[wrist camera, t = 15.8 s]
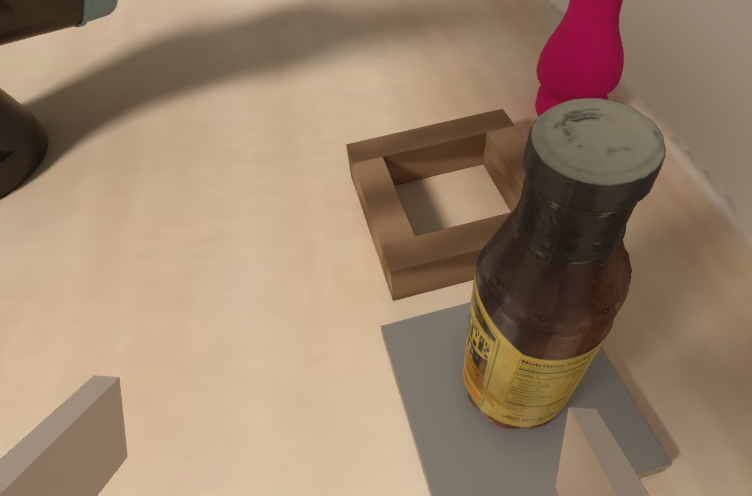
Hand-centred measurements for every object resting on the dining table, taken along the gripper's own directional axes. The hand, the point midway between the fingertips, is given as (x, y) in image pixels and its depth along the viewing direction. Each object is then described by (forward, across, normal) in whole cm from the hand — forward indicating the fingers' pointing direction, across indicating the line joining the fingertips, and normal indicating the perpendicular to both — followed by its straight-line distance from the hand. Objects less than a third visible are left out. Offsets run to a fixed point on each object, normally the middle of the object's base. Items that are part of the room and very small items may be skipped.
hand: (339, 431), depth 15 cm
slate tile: (+16, +9, -8) cm, 20 cm away
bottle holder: (+29, +6, +1) cm, 30 cm away
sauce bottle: (+16, +9, -7) cm, 19 cm away
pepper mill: (+40, +17, +9) cm, 44 cm away
